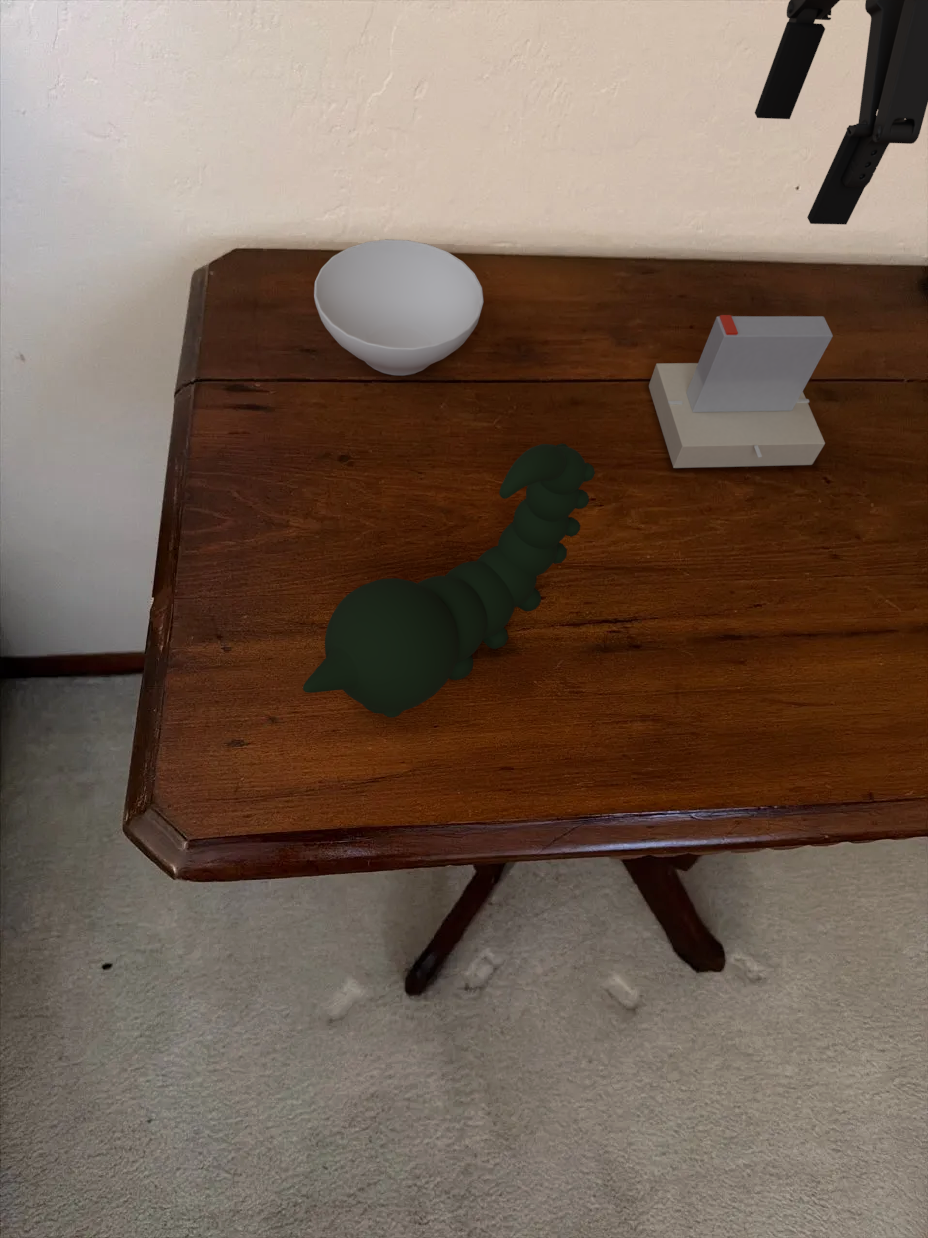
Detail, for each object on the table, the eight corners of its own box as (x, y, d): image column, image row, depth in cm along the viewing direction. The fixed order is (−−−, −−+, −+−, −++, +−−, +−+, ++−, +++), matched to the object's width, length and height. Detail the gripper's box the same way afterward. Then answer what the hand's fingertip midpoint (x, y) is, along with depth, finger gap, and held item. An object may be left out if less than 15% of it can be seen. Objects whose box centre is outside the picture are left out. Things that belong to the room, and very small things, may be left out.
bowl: (309, 302, 91) (305, 242, 86) (460, 294, 94) (466, 235, 88) (327, 413, 83) (323, 354, 77) (491, 400, 86) (499, 343, 80)
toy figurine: (497, 552, 78) (264, 704, 66) (544, 383, 63) (254, 540, 51) (573, 621, 75) (343, 794, 63) (643, 460, 60) (358, 647, 48)
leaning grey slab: (784, 391, 86) (825, 313, 78) (792, 410, 85) (834, 333, 77) (686, 392, 85) (717, 313, 77) (692, 412, 83) (725, 333, 75)
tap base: (775, 373, 92) (787, 349, 89) (818, 477, 84) (832, 454, 82) (643, 374, 90) (652, 350, 87) (676, 481, 83) (686, 458, 80)
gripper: (820, -287, 54) (708, 76, 72) (987, -123, 41) (801, 271, 59) (932, -276, 55) (795, 79, 73) (1131, -112, 42) (904, 272, 60)
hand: (797, 166), depth 66 cm, fingers open, 13 cm apart
